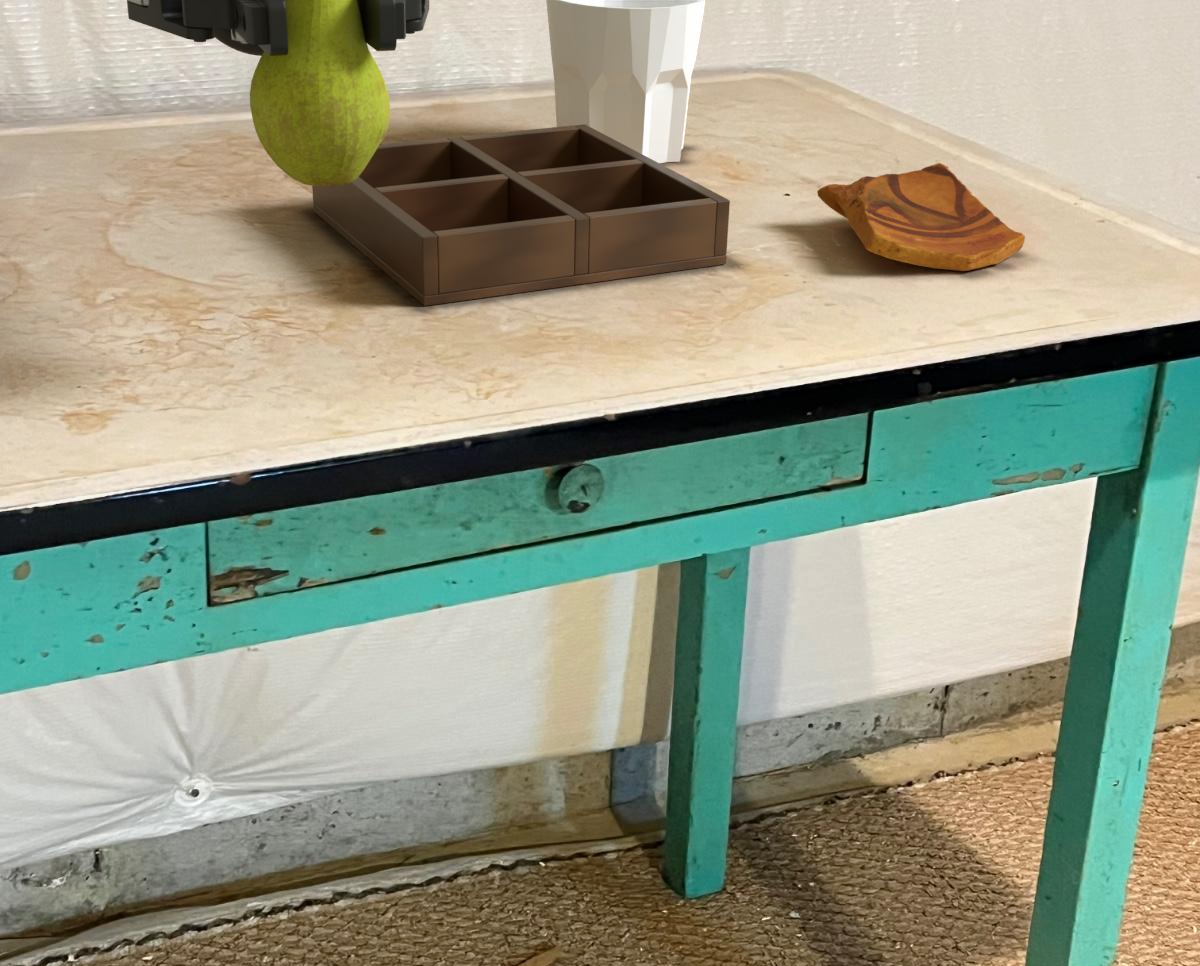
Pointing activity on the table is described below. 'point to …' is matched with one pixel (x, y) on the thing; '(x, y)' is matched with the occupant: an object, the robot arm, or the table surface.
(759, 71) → the table surface
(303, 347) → the table surface
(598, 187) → the grid
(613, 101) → the cup
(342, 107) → the fruit
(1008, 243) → the pottery fragment
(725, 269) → the table surface
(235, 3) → the robot arm
